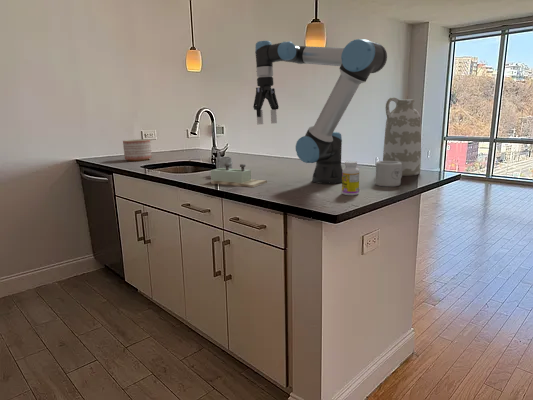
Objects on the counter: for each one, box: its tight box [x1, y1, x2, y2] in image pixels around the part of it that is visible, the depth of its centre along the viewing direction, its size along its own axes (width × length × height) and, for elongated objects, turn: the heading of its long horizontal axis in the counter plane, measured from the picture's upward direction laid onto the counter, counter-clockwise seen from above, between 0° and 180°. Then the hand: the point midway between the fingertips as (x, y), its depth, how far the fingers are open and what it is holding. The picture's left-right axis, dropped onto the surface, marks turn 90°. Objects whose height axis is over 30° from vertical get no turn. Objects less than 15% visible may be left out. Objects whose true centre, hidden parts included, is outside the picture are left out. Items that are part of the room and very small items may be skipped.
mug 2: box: [374, 160, 403, 188], centre depth 173 cm, size 14×11×10 cm
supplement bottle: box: [341, 160, 360, 196], centre depth 155 cm, size 7×7×13 cm
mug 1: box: [215, 152, 233, 169], centre depth 210 cm, size 8×12×12 cm, turn 44°
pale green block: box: [210, 168, 252, 183], centre depth 189 cm, size 18×8×5 cm, turn 59°
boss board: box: [210, 163, 268, 188], centre depth 186 cm, size 24×12×9 cm, turn 59°
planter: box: [122, 138, 152, 162], centre depth 292 cm, size 19×19×15 cm
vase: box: [382, 96, 422, 177], centre depth 198 cm, size 20×19×38 cm
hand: (267, 123), depth 186 cm, fingers open, 13 cm apart
